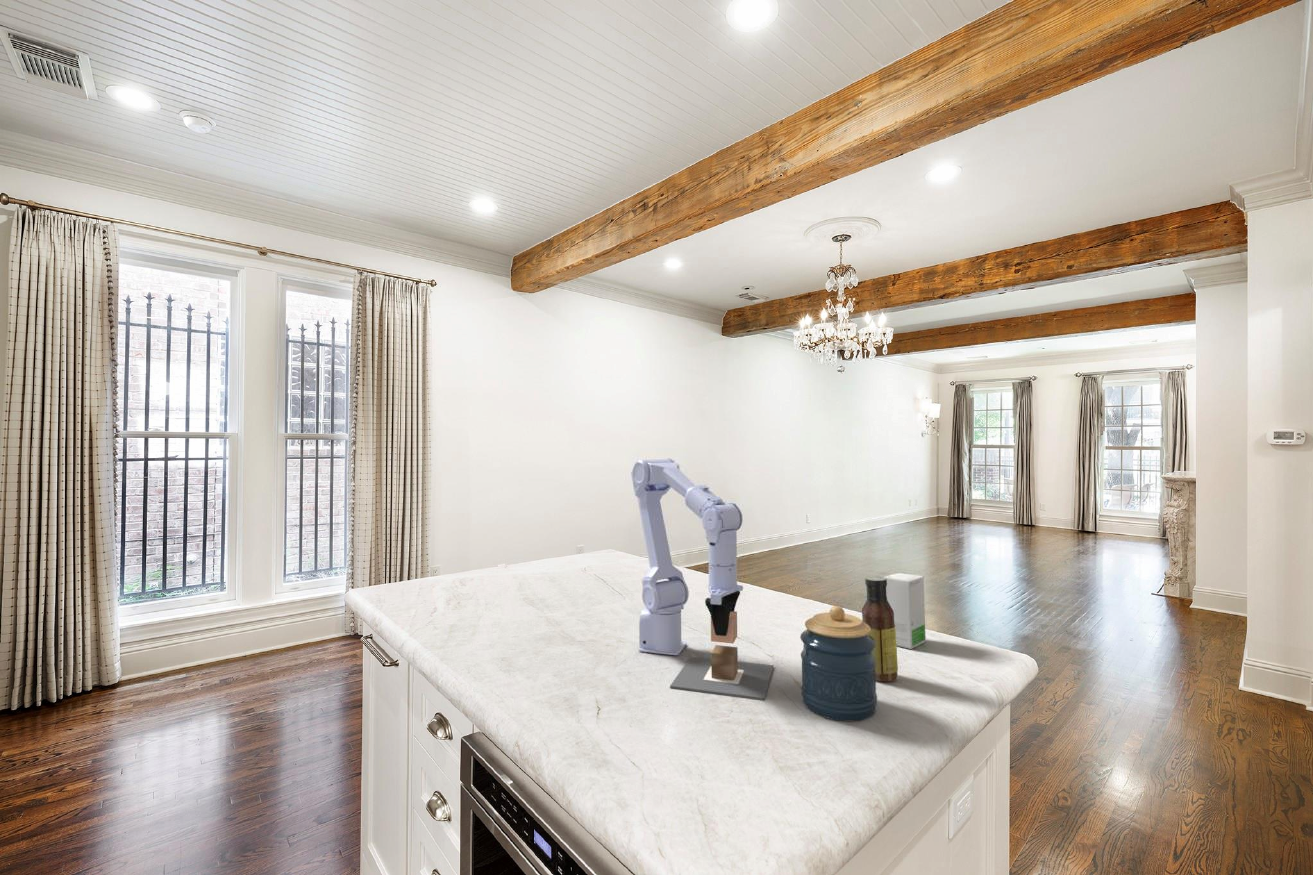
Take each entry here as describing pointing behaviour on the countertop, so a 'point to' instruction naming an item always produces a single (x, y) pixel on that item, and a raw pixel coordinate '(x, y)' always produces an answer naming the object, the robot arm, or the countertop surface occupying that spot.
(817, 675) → the canister
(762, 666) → the grey mat
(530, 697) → the countertop surface
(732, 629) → the terracotta block
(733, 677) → the walnut block
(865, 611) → the sauce bottle
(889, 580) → the skincare box
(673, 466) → the robot arm
